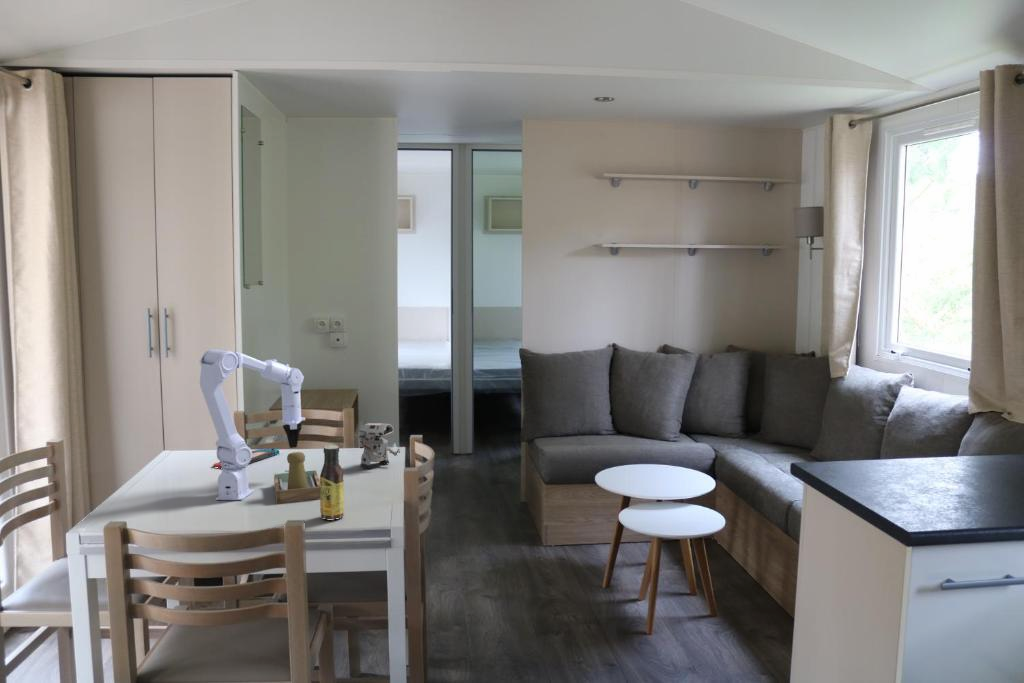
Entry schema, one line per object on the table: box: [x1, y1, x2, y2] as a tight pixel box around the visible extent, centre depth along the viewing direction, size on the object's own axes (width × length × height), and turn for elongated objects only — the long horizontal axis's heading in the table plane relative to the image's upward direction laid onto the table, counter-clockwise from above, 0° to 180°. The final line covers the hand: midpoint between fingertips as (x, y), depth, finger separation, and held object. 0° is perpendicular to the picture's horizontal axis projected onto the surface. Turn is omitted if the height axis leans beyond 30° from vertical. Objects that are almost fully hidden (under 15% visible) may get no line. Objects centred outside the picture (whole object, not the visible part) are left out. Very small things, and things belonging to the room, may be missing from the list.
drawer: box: [273, 468, 317, 490], centre depth 239 cm, size 19×13×3 cm, turn 19°
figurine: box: [359, 422, 401, 470], centre depth 265 cm, size 9×12×15 cm
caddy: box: [273, 472, 320, 504], centre depth 237 cm, size 17×13×4 cm
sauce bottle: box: [319, 444, 345, 519], centre depth 213 cm, size 7×6×20 cm
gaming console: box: [212, 448, 280, 469], centre depth 276 cm, size 24×2×10 cm
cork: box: [286, 451, 308, 490], centre depth 234 cm, size 6×6×11 cm
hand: (293, 447), depth 251 cm, fingers closed
